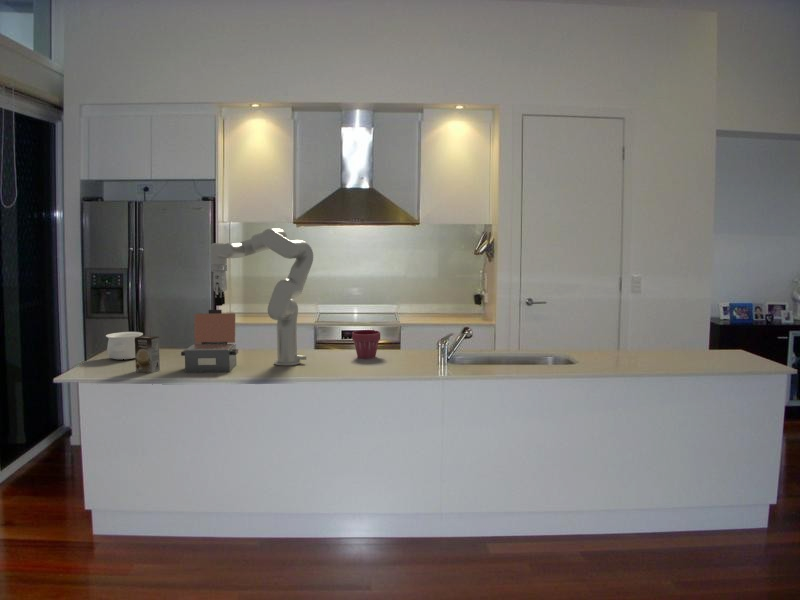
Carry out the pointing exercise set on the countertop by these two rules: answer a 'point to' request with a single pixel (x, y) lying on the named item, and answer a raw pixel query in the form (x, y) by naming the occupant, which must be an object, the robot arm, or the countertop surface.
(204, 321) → the lid
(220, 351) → the cooker base
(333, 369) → the countertop surface
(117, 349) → the pot
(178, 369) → the countertop surface
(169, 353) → the countertop surface
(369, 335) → the plant pot
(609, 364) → the countertop surface
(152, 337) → the coffee box
